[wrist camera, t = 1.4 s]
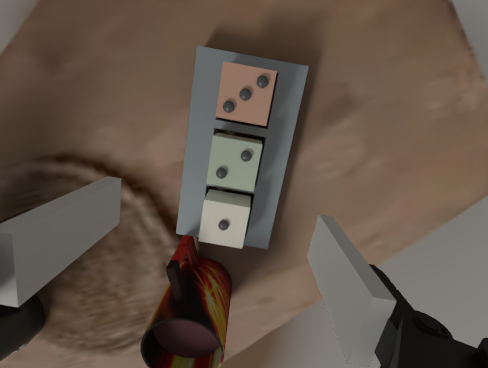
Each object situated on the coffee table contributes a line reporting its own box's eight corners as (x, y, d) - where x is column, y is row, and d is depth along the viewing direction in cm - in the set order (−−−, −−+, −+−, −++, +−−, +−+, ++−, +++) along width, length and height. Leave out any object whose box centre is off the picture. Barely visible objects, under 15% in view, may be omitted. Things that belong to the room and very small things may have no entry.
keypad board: (180, 225, 38) (176, 233, 35) (201, 50, 31) (196, 45, 29) (266, 240, 38) (267, 249, 35) (304, 69, 31) (308, 66, 29)
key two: (211, 174, 33) (205, 184, 29) (217, 132, 31) (212, 135, 27) (253, 182, 33) (253, 192, 29) (261, 140, 32) (262, 144, 27)
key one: (204, 226, 35) (197, 242, 31) (209, 189, 34) (203, 200, 29) (243, 233, 35) (242, 250, 31) (250, 196, 34) (250, 208, 29)
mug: (192, 225, 38) (165, 275, 26) (244, 291, 41) (240, 362, 29) (143, 256, 39) (98, 316, 28) (196, 317, 42) (175, 394, 31)
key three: (220, 116, 31) (214, 116, 27) (227, 68, 29) (222, 60, 25) (264, 124, 31) (266, 126, 27) (273, 76, 29) (277, 70, 25)
